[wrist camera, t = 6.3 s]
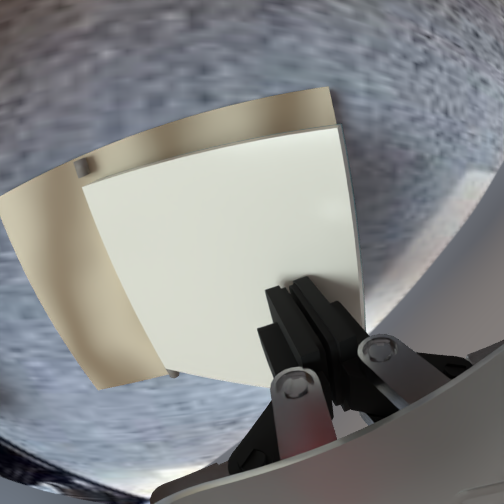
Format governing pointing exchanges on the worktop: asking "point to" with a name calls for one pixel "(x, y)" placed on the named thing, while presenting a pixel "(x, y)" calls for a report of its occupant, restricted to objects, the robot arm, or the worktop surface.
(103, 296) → the board
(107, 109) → the worktop surface
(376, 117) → the worktop surface
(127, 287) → the tile
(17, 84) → the worktop surface
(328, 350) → the robot arm
